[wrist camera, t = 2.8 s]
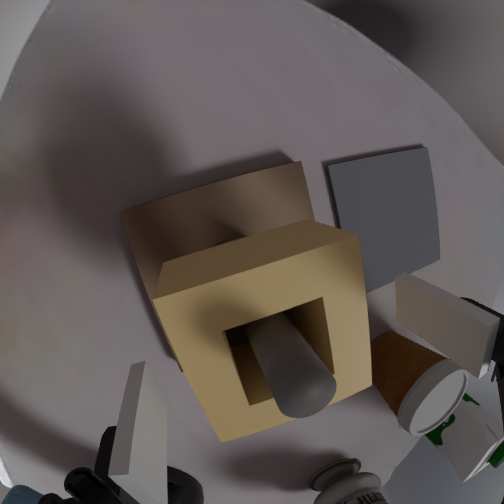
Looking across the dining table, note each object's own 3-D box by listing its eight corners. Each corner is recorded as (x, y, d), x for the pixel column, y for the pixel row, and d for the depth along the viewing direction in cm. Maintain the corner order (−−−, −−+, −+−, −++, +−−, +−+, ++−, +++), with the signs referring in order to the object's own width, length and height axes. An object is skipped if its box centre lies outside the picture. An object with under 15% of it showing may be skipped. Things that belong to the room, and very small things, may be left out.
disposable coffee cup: (349, 337, 32) (411, 396, 20) (411, 309, 33) (478, 349, 22) (353, 394, 34) (401, 452, 23) (409, 365, 36) (462, 409, 24)
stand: (181, 363, 28) (190, 520, 11) (123, 211, 24) (11, 260, 7) (326, 315, 30) (439, 420, 13) (295, 162, 26) (447, 139, 9)
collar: (210, 381, 19) (221, 442, 14) (163, 262, 17) (152, 299, 11) (329, 339, 20) (371, 385, 15) (306, 218, 18) (357, 234, 12)
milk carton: (431, 409, 41) (496, 470, 22) (397, 422, 39) (464, 496, 20) (449, 370, 39) (526, 429, 20) (416, 380, 37) (499, 454, 18)
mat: (349, 297, 31) (352, 298, 30) (325, 166, 27) (328, 165, 26) (437, 257, 33) (440, 258, 32) (424, 147, 29) (427, 147, 28)
